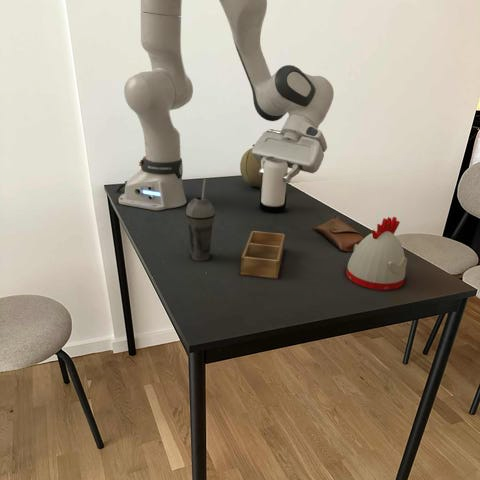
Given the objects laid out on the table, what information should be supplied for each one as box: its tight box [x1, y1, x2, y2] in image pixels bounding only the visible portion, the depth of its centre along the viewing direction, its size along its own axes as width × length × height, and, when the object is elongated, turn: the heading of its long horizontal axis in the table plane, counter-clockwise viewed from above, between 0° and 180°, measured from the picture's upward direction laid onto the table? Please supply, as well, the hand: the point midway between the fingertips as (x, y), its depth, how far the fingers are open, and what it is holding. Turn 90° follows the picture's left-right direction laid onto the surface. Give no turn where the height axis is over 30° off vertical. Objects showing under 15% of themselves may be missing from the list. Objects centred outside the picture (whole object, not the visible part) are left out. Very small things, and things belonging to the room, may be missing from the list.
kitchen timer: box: [345, 216, 408, 291], centre depth 109 cm, size 14×14×15 cm
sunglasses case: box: [313, 215, 366, 252], centre depth 132 cm, size 18×7×7 cm
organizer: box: [240, 230, 286, 279], centre depth 116 cm, size 9×17×5 cm, turn 171°
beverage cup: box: [185, 178, 216, 262], centre depth 113 cm, size 7×7×20 cm
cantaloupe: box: [239, 143, 263, 189], centre depth 170 cm, size 15×15×15 cm
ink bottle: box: [258, 188, 288, 214], centre depth 149 cm, size 10×9×12 cm
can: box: [261, 157, 289, 207], centre depth 124 cm, size 6×6×12 cm
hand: (273, 177), depth 123 cm, fingers closed on can, 6 cm apart
